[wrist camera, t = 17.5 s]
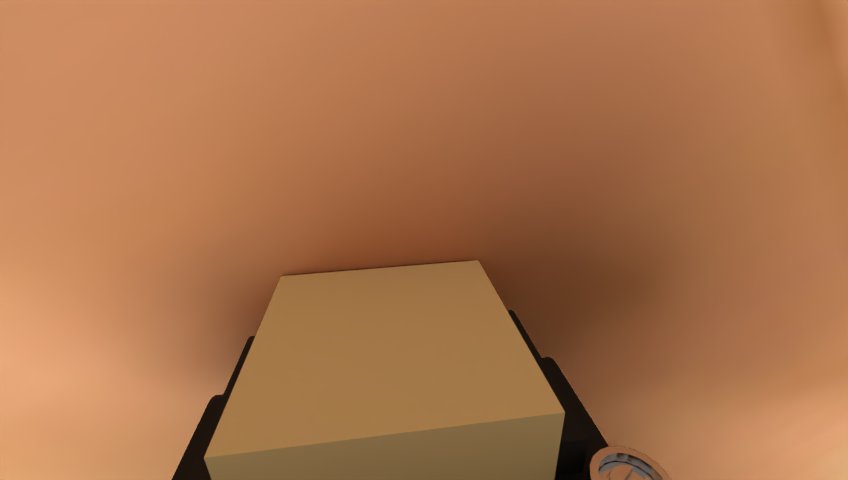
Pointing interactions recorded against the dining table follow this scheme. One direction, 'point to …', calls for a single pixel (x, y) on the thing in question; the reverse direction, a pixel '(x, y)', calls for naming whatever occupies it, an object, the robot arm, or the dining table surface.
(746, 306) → the dining table surface
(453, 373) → the rod
